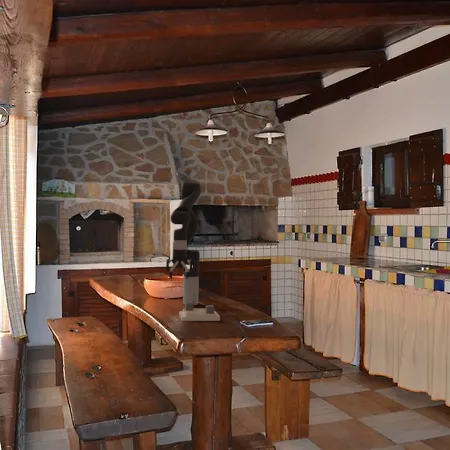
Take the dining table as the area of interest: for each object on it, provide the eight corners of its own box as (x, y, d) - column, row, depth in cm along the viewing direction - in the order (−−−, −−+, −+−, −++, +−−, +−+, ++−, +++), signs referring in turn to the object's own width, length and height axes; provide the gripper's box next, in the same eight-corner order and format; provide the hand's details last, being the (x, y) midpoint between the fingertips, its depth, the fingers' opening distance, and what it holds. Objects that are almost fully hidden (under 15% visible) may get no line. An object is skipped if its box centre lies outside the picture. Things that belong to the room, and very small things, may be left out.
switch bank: (179, 314, 300) (179, 308, 299) (215, 314, 303) (215, 308, 303) (181, 321, 284) (182, 314, 284) (220, 320, 287) (220, 313, 287)
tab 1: (185, 311, 299) (185, 302, 298) (192, 311, 299) (192, 302, 299) (185, 312, 295) (186, 303, 294) (193, 312, 295) (193, 303, 295)
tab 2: (205, 314, 291) (205, 305, 291) (212, 314, 292) (213, 305, 292) (206, 316, 287) (206, 306, 287) (214, 315, 288) (214, 306, 288)
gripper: (192, 248, 300) (191, 278, 300) (166, 247, 297) (165, 277, 298) (193, 249, 293) (193, 279, 293) (167, 248, 290) (166, 279, 290)
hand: (179, 278), depth 295 cm, fingers open, 8 cm apart
